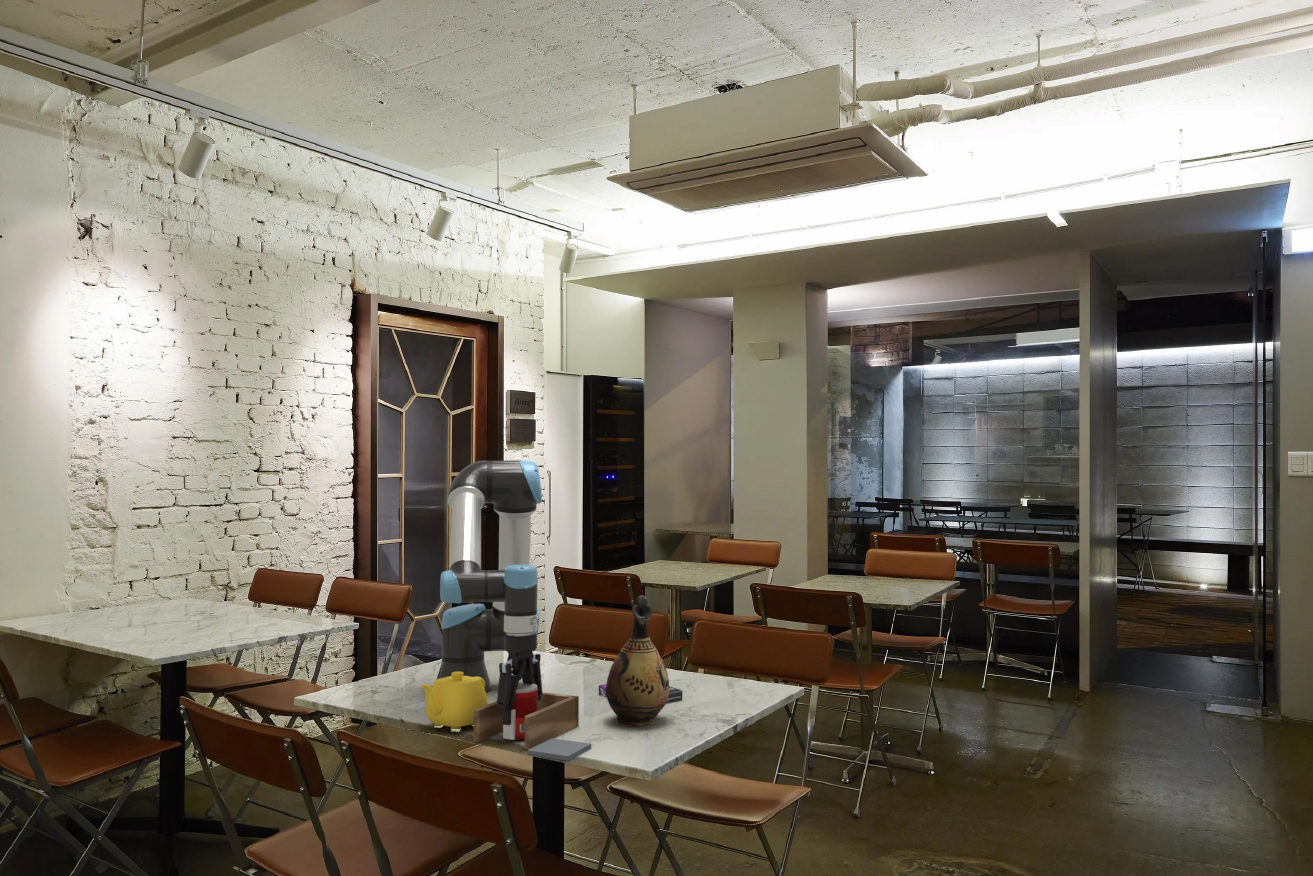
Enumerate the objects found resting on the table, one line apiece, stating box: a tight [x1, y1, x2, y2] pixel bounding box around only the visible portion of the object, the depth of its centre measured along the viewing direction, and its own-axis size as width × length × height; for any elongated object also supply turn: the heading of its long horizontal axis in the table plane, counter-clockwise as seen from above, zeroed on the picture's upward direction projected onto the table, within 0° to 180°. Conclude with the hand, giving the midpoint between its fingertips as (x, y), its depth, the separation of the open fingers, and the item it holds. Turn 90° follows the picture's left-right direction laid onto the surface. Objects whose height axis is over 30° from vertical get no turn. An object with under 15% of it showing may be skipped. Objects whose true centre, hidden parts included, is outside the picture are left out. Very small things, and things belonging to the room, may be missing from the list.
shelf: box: [472, 691, 580, 750], centre depth 212 cm, size 15×21×7 cm
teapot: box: [419, 671, 489, 730], centre depth 217 cm, size 14×20×13 cm
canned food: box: [513, 682, 538, 740], centre depth 209 cm, size 8×8×11 cm
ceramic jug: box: [605, 594, 671, 728], centre depth 224 cm, size 17×15×30 cm
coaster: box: [526, 738, 592, 762], centre depth 198 cm, size 10×10×1 cm
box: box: [598, 683, 683, 705], centre depth 247 cm, size 14×4×20 cm
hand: (519, 733), depth 209 cm, fingers closed on canned food, 8 cm apart
